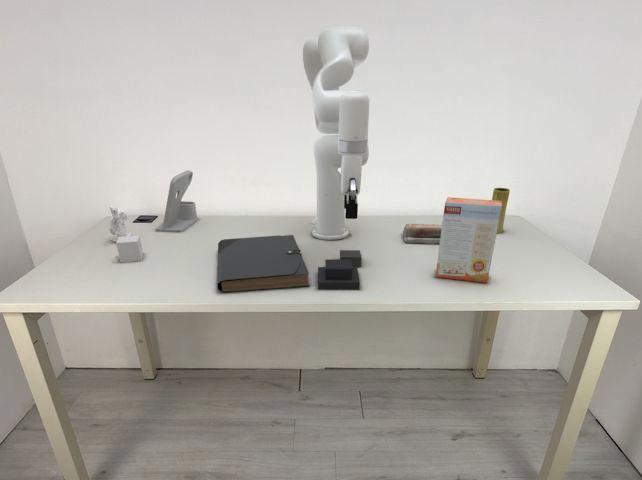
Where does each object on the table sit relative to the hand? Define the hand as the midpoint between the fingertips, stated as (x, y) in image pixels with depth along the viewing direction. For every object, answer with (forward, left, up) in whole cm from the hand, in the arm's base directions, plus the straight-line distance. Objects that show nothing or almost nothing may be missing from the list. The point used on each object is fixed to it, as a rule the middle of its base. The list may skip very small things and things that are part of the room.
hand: (350, 213), depth 131 cm
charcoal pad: (+7, -11, -13) cm, 18 cm away
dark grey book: (-16, -20, -15) cm, 30 cm away
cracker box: (+27, +17, -15) cm, 36 cm away
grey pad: (-1, +1, -15) cm, 15 cm away
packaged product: (+1, +37, -15) cm, 40 cm away
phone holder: (-71, -19, -15) cm, 75 cm away
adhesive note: (-48, -46, -15) cm, 68 cm away
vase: (+10, +62, -15) cm, 65 cm away
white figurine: (-66, -42, -15) cm, 79 cm away
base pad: (+7, -11, -15) cm, 20 cm away
